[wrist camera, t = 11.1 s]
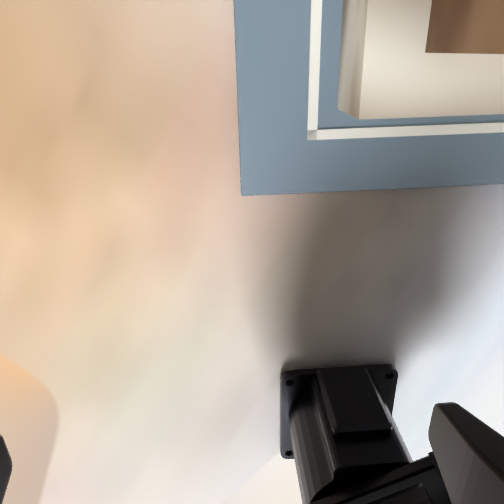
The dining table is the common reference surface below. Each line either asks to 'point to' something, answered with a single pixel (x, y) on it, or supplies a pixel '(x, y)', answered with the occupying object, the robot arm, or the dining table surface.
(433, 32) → the walnut cube
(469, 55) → the plinth
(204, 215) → the dining table surface
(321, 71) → the board
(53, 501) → the dining table surface
